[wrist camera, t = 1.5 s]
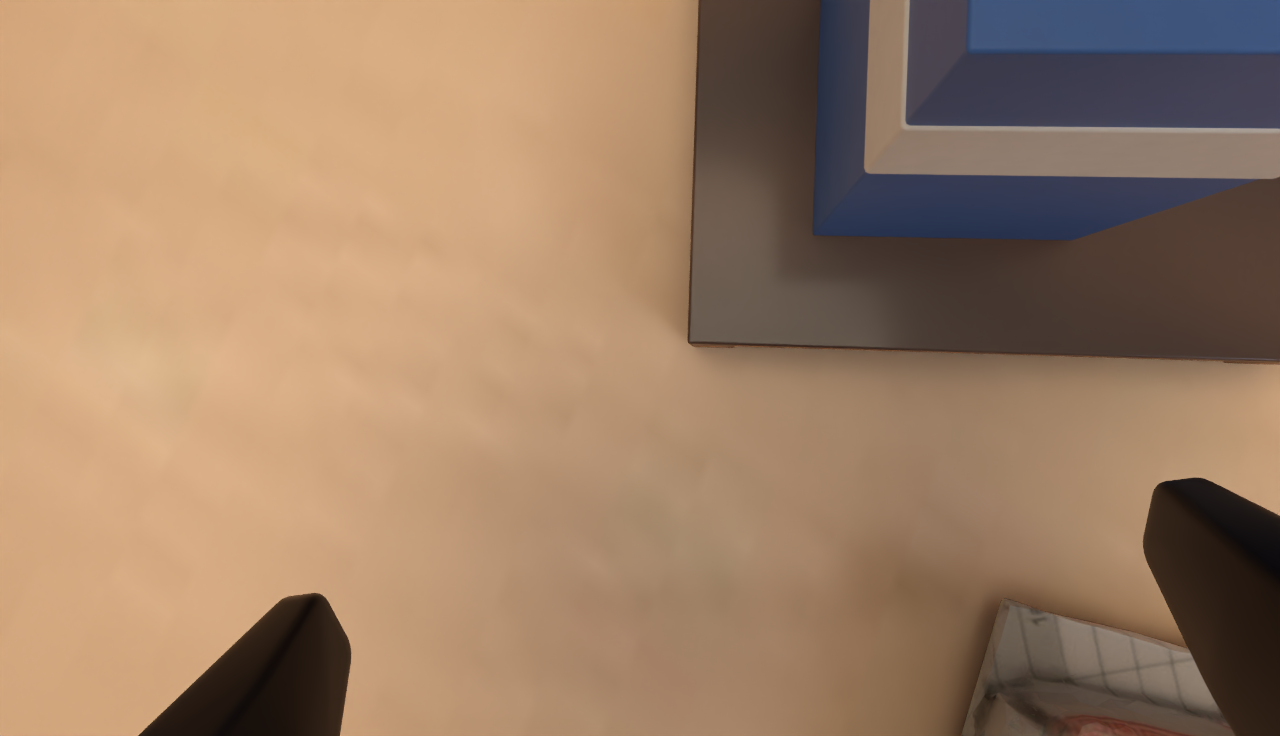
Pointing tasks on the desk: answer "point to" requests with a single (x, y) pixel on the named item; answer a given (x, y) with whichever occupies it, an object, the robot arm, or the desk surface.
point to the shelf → (939, 241)
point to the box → (1038, 113)
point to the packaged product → (1086, 682)
